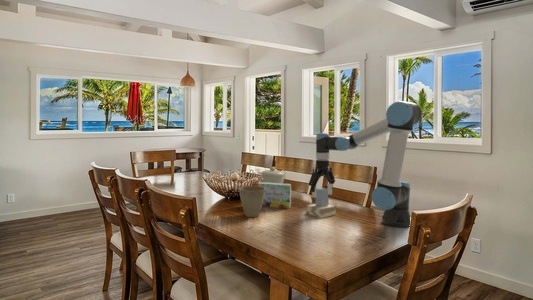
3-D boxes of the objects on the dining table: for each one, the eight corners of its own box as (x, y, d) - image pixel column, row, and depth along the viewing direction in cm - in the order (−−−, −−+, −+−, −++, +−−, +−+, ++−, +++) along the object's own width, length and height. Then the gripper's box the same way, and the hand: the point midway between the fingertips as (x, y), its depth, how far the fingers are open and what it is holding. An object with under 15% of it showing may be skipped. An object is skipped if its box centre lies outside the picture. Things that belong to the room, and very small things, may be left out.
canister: (256, 196, 246) (257, 167, 244) (264, 192, 263) (265, 164, 261) (280, 198, 240) (281, 169, 238) (287, 193, 257) (288, 166, 256)
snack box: (256, 206, 218) (256, 183, 217) (258, 204, 223) (259, 181, 222) (289, 209, 213) (290, 185, 212) (291, 206, 218) (291, 183, 217)
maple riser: (335, 214, 201) (335, 206, 200) (321, 218, 193) (322, 209, 193) (320, 210, 210) (320, 202, 210) (306, 213, 203) (306, 205, 202)
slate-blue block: (327, 206, 201) (328, 189, 200) (321, 207, 198) (322, 190, 197) (321, 204, 205) (321, 187, 204) (315, 205, 202) (316, 188, 201)
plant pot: (234, 214, 199) (235, 186, 198) (257, 211, 206) (258, 185, 205) (245, 220, 186) (245, 191, 185) (269, 217, 193) (269, 189, 192)
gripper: (331, 158, 210) (331, 192, 211) (302, 160, 194) (302, 197, 196) (341, 159, 204) (340, 194, 205) (312, 161, 188) (312, 199, 190)
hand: (322, 196), depth 201 cm, fingers open, 13 cm apart
